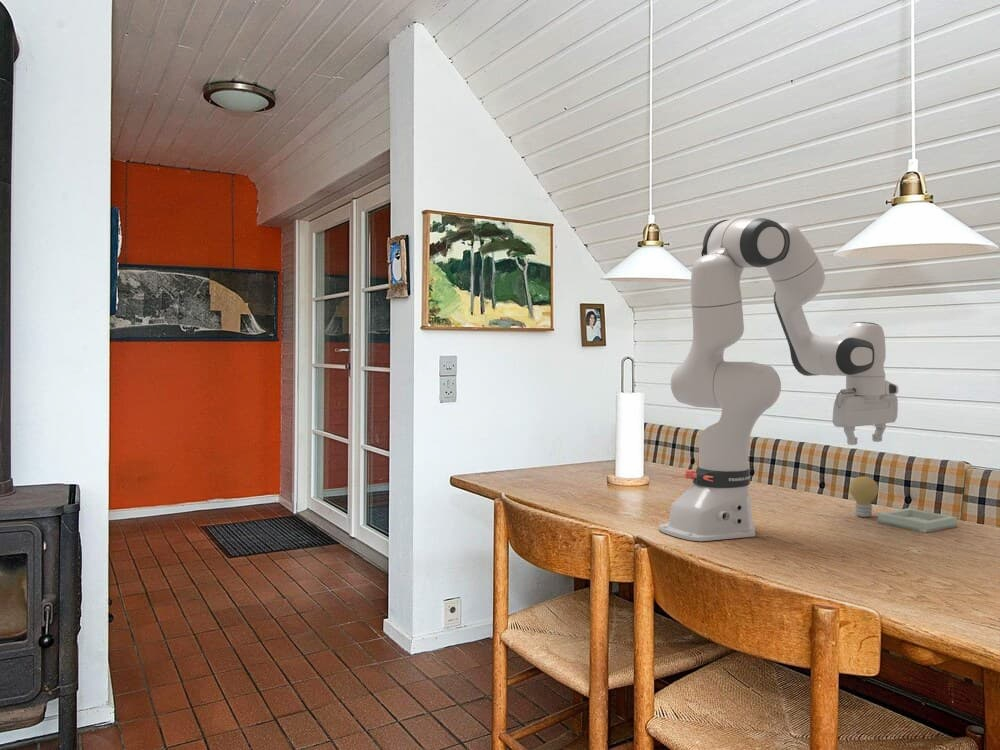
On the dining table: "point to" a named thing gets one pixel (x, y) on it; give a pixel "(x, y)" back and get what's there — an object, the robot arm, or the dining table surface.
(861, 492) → the light bulb
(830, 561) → the dining table surface
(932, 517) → the tray
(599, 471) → the dining table surface
